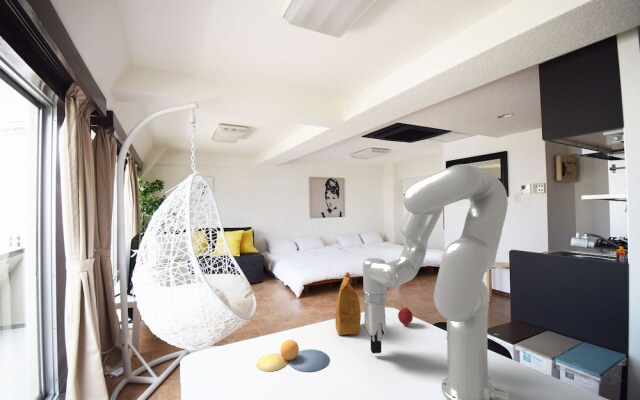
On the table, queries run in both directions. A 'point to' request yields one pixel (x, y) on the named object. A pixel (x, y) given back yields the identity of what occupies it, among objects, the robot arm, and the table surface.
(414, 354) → the table surface
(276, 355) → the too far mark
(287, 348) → the ball
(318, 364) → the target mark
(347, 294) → the coffee package
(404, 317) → the onion
